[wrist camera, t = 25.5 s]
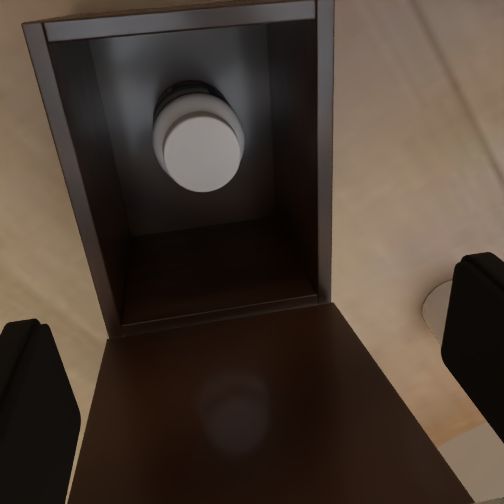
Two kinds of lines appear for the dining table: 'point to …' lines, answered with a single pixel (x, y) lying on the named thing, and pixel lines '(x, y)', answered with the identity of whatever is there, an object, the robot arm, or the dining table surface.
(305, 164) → the chest
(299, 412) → the lid
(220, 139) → the pill bottle
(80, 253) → the dining table surface
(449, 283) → the white cup
